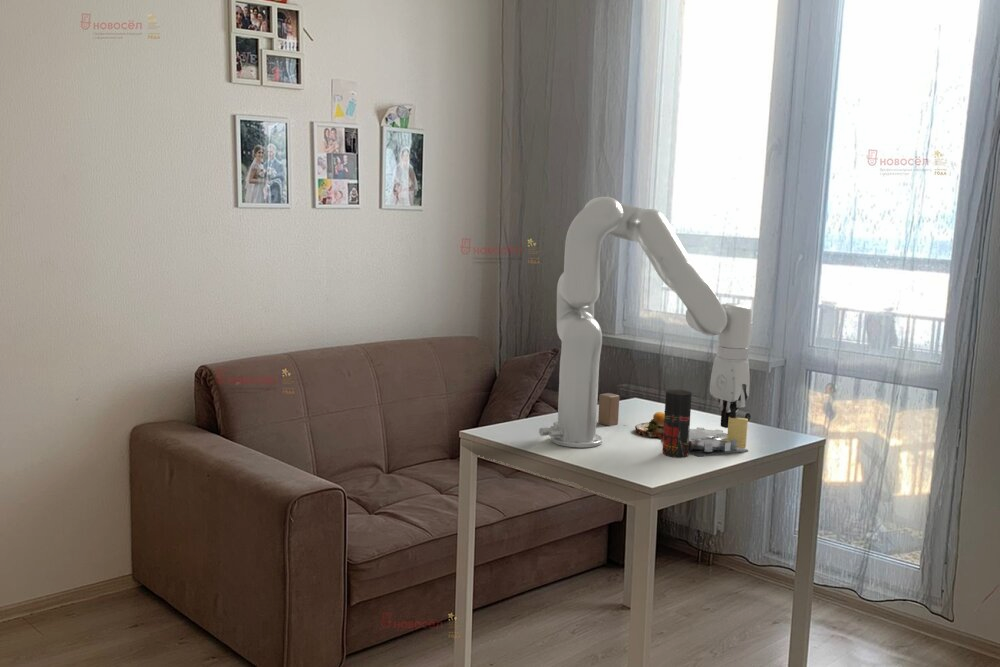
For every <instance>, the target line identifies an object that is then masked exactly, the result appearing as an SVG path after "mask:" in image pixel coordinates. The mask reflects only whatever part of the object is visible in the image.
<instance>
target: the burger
mask: <svg viewBox="0 0 1000 667" xmlns="http://www.w3.org/2000/svg"><path fill="white" fill-rule="evenodd" d="M664 417H665V410H664V412H662V411H658V412H655V413H653V416H652V419H651V420H650V421H648V422H642V423H639V424H636V425H635V426H634V428H635V434H636V435H639V436H640V435H641V434H642V436H643V437H645V438H652V437H653V438H655V437H657V438H658V439H660V440H663V434H664Z"/></svg>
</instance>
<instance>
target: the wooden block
mask: <svg viewBox="0 0 1000 667" xmlns="http://www.w3.org/2000/svg"><path fill="white" fill-rule="evenodd" d="M598 397H599V398H598V399H599V400H598V413H597V416H598V417H597V418H598V419H597V422H598V424H600V425H604V426H607V427H609V426H617V425H618V424H619V411H620V395H619V394H615V393H612V392H607V393H600V394H599V396H598Z"/></svg>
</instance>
